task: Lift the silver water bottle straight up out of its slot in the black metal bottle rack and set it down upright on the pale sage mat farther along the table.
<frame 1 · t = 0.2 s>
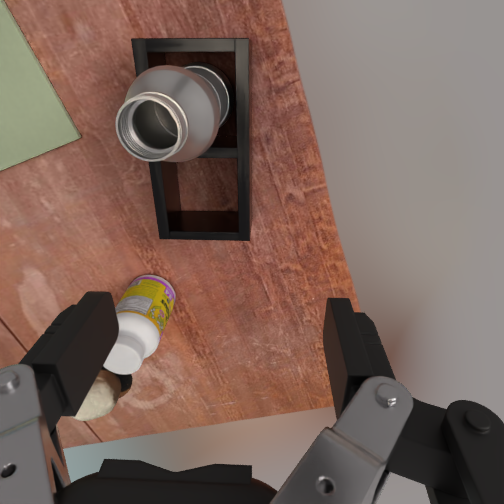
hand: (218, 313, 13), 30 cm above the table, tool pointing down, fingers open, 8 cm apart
silver water bottle: (205, 96, 38), resting in bottle rack
skull: (96, 373, 59), on the table
bottle rack: (207, 140, 40), on the table
supplement bottle: (153, 291, 50), on the table
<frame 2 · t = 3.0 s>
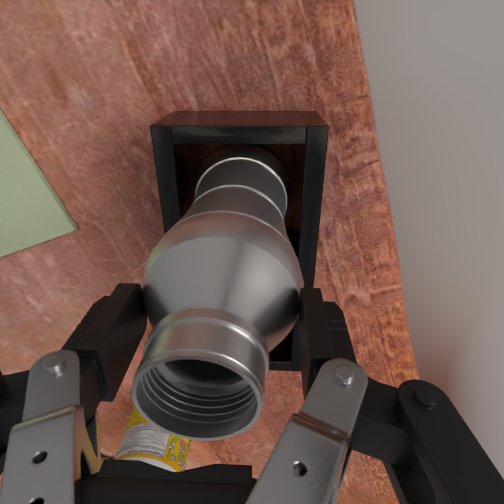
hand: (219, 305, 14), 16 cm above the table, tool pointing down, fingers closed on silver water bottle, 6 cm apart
silver water bottle: (246, 179, 27), resting in bottle rack, touching gripper
bottle rack: (246, 232, 29), on the table
supplement bottle: (170, 396, 40), on the table
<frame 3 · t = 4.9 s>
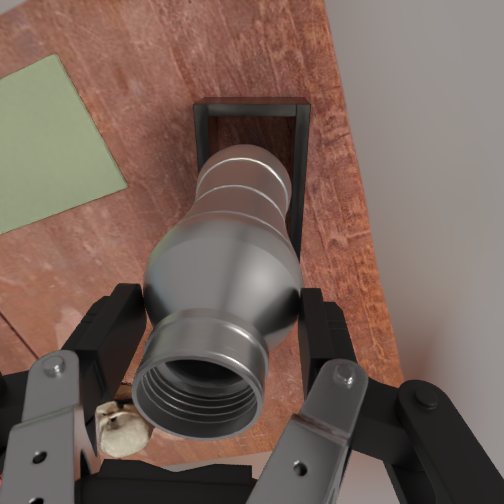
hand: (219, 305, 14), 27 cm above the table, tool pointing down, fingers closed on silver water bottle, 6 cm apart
silver water bottle: (247, 179, 27), point 11 cm above the table, touching gripper
skull: (128, 406, 59), on the table
bottle rack: (254, 189, 40), on the table
mat: (12, 160, 39), on the table
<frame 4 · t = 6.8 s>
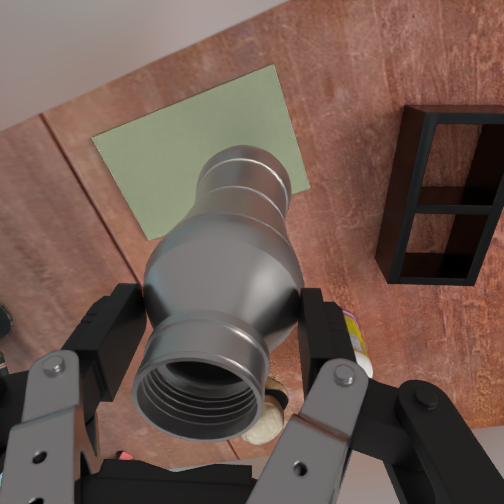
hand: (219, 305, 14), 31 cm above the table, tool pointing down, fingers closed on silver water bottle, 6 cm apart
silver water bottle: (247, 180, 27), point 15 cm above the table, touching gripper
skull: (253, 397, 62), on the table
bottle rack: (430, 190, 42), on the table
supplement bottle: (334, 323, 53), on the table
mat: (203, 162, 42), on the table
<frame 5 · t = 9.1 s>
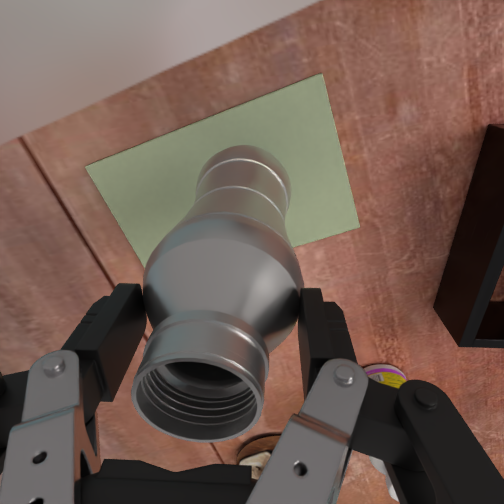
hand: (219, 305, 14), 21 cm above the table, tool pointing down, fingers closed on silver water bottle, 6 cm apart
silver water bottle: (246, 180, 27), point 5 cm above the table, touching gripper
skull: (277, 456, 53), on the table
supplement bottle: (377, 379, 44), on the table
mat: (226, 195, 33), on the table
when the fingers open (16 cm above the table, at t = 10.8 s): silver water bottle stays where it is, resting on mat.
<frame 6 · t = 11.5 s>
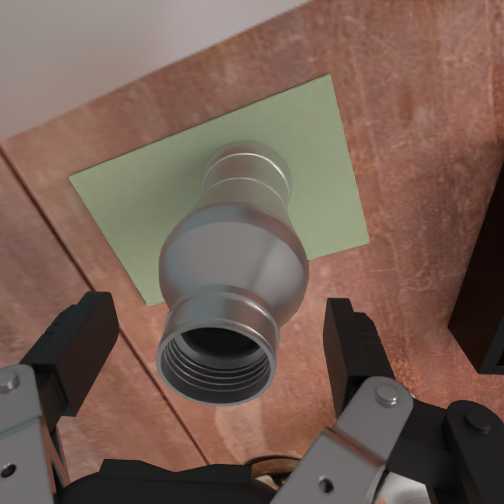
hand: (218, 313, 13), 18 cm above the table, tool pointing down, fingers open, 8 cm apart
silver water bottle: (249, 175, 28), resting on mat
skull: (278, 478, 50), on the table
supplement bottle: (385, 401, 41), on the table
mat: (223, 208, 30), on the table
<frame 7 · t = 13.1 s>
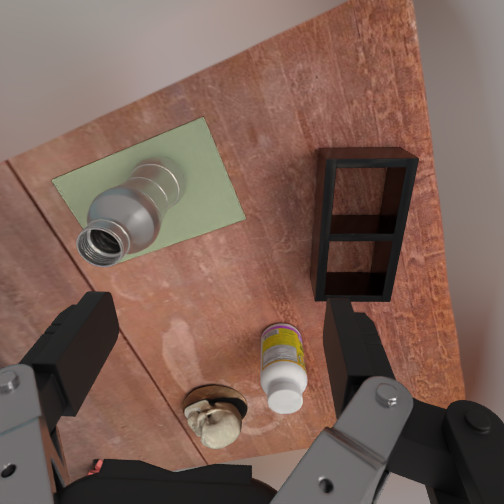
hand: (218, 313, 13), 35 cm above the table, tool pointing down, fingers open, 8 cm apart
silver water bottle: (164, 177, 46), resting on mat
cat figurine: (102, 465, 77), on the table
skull: (215, 405, 67), on the table
bottle rack: (350, 218, 48), on the table
supplement bottle: (281, 336, 58), on the table
mat: (151, 198, 48), on the table
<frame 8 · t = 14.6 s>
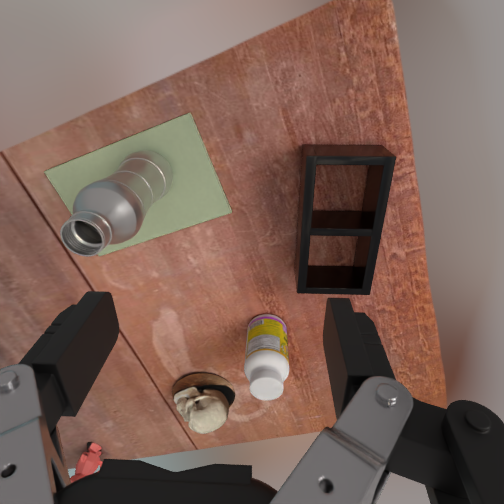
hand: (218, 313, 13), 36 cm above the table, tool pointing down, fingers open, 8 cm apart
silver water bottle: (152, 170, 47), resting on mat
cat figurine: (96, 448, 80), on the table
skull: (204, 392, 69), on the table
bottle rack: (333, 213, 50), on the table
supplement bottle: (267, 326, 60), on the table
mat: (140, 191, 49), on the table
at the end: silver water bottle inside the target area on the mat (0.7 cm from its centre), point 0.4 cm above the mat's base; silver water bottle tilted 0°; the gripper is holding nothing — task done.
